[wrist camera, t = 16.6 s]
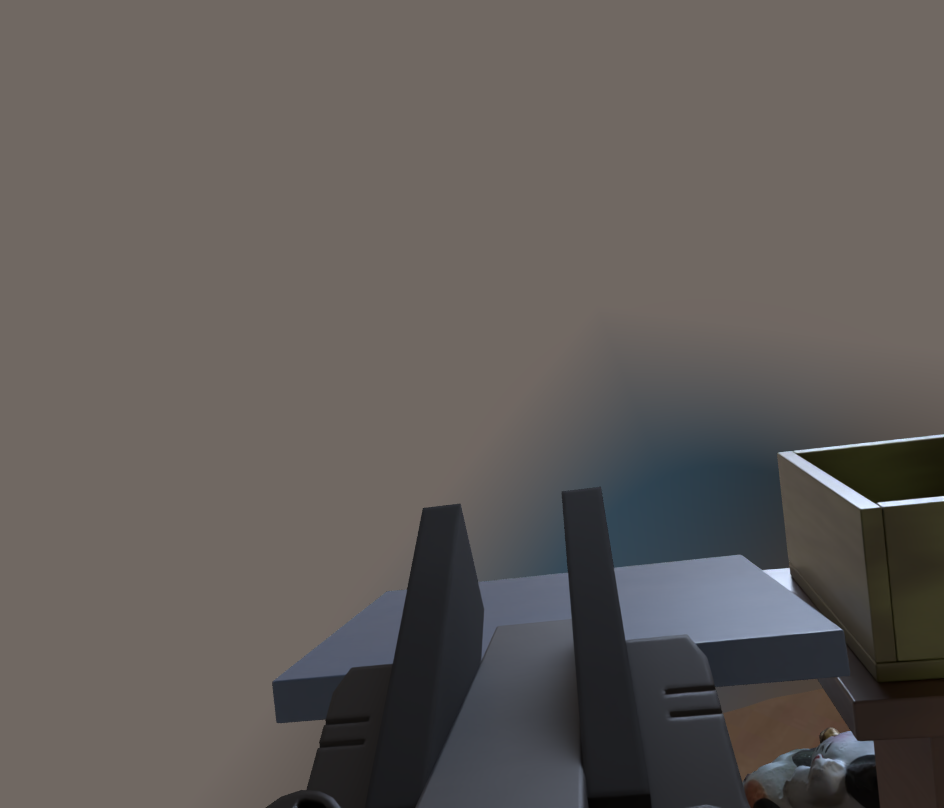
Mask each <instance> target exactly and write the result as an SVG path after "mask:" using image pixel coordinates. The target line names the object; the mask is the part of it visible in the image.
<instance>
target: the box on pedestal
mask: <svg viewBox="0 0 944 808" xmlns="http://www.w3.org/2000/svg"><path fill="white" fill-rule="evenodd" d="M777 457H778V466H779V475H780V485H781V493H782V503H783V512H784V521H785V531H786V539H787V549H788V558H789V561H790V562H789V567H790V568H785V569H774V570H763V571H764V572H765V573H766V574H768V575H769V576H770V577H772V578H773V579H775V580H776V581H777V582H779V583H780V584H781V585H783V586H784V587H785V588H787V589H788V590H789V591H791V592H792V593H794V594H795V595H796V596H798V597H799V598H800V599H802V600H803V601H804V602H806V603H807V604H808V605H810V606H811V607H813V608H814V609H815V610H817V611H818V612H819V613H821V614H822V615H823V616H825V617H826V618H827V619H829V620H830V621H832V622H833V623H834V624H836V625H837V626H838V627H840V628H841V629H842V630H843V631H844V635H845V641H846V648H847V655H848V661H849V668H850V676H844V677H831V678H819V679H818V681H819V682H820V684H821V685H822V687H823V689H824V690H825V692H826V693H827V695H828V696H829V698H830V699H831V701H832V703H833V704H834V706H835V707H836V709H837V710H838V712H839V713H840V715H841V716H842V718H843V720H844V721H845V723H846V724H847V726H848V727H849V729H850V730H851V732H852V733H853V735H854V737H855V738H856V740H857V741H873V742H874V752H875V761H876V771H877V781H878V791H879V801H880V808H944V434H943V435H934V436H925V437H916V438H908V439H898V440H889V441H879V442H871V443H861V444H853V445H844V446H835V447H825V448H817V449H807V450H798V451H793V452H792V451H788V452H779V453H778V454H777Z"/></svg>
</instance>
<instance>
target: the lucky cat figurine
mask: <svg viewBox="0 0 944 808" xmlns="http://www.w3.org/2000/svg"><path fill="white" fill-rule="evenodd" d="M742 783H743V787H744V791H745V794H746V798H747V800H748V803H749V805H750V808H880V801H879V791H878V781H877V771H876V761H875V752H874V742H873V741H857V740H856V738H855V737H854V735H853V733H852V732H851V731H848V732H845V733H839V732H838V731H837V730H836V729H835V728H827V729H826V730H824V731H822V732H821V733H820V745H819V746H818V747H817V748H812V749H796V750H793V751H790V752H789V753H786V754H783V755H780V756H779V757H778V758H776V759H775V760H774V761H773V762H772V763H770V764H767V765H764V766H762V767H760V768H759V769H758V770H757V771H754V772H753V773H752V774H747V776H746V777H745V779H744V781H743V782H742Z"/></svg>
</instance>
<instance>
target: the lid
mask: <svg viewBox="0 0 944 808" xmlns="http://www.w3.org/2000/svg"><path fill="white" fill-rule="evenodd" d="M614 572H615V578H616V584H617V590H618V596H619V603H620V609H621V615H622V621H623V628H624V634H625V640H630V639H641V638H652V637H662V636H673V635H684V634H687V635H688V636H689V637H690V638H691V639H692V640H693V642H694V643H695V644H696V645H697V646H698V647H699V648H700V650H701V651H702V652H703V653H704V654H705V655H706V657H707V659H708V662H709V666H710V669H711V673H712V677H713V680H714V684H715V687H723V686H735V685H747V684H758V683H771V682H782V681H795V680H807V679H819V678H831V677H844V676H850V668H849V661H848V655H847V648H846V641H845V635H844V631H843V630H842V629H841V628H840V627H838V626H837V625H836V624H834V623H833V622H832V621H830V620H829V619H827V618H826V617H825V616H823V615H822V614H821V613H819V612H818V611H817V610H815V609H814V608H813V607H811V606H810V605H808V604H807V603H806V602H804V601H803V600H802V599H800V598H799V597H798V596H796V595H795V594H794V593H792V592H791V591H789V590H788V589H787V588H785V587H784V586H783V585H781V584H780V583H779V582H777V581H776V580H775V579H773V578H772V577H770V576H769V575H768V574H766V573H765V572H764V571H762V570H761V569H760V568H758V567H757V566H756V565H754V564H753V563H751V562H750V561H749V560H747V559H746V558H745V557H743V556H742V555H734V556H724V557H714V558H706V559H695V560H686V561H676V562H666V563H657V564H647V565H638V566H628V567H618V568H614ZM478 584H479V588H480V592H481V597H482V601H483V606H484V623H483V639H482V656H481V663H480V665H479V667H478V670H477V672H476V674H475V676H474V678H473V681H472V683H471V685H470V687H469V690H468V692H467V694H466V696H465V698H464V701H463V703H462V705H461V707H460V709H459V712H458V714H457V716H456V718H455V721H454V723H453V725H452V727H451V729H450V732H449V734H448V736H447V738H446V741H445V743H444V745H443V747H442V749H441V752H440V754H439V756H438V758H437V761H436V763H435V765H434V767H433V769H432V772H431V774H430V776H429V778H428V781H427V783H426V785H425V787H424V789H423V792H422V794H421V796H420V798H419V801H418V803H417V805H416V807H415V808H589V805H588V799H587V788H586V777H585V774H584V768H583V756H582V743H581V730H580V718H579V705H578V693H577V680H576V667H575V655H574V642H573V630H572V617H571V604H570V592H569V579H568V573H561V574H551V575H542V576H532V577H522V578H513V579H503V580H494V581H484V582H478ZM406 593H407V590H397V591H388V592H385V593H384V594H383V595H382V596H380V597H379V598H378V599H377V600H375V601H374V602H373V603H372V604H370V605H369V606H368V607H367V608H365V609H364V610H363V611H362V612H360V613H359V614H358V615H356V616H355V617H354V618H353V619H351V620H350V621H349V622H347V623H346V624H345V625H344V626H342V627H341V628H340V629H339V630H337V631H336V632H335V633H333V634H332V635H331V636H330V637H329V638H327V639H326V640H325V641H324V642H322V643H321V644H320V645H318V646H317V647H316V648H314V649H313V650H312V651H311V652H309V653H308V654H307V655H306V656H304V657H303V658H302V659H301V660H300V661H298V662H297V663H296V664H294V665H293V666H292V667H290V668H289V669H288V670H287V671H286V672H284V673H283V674H282V675H280V676H279V677H278V678H276V679H275V680H274V681H273V682H272V686H273V694H274V704H275V712H276V721H277V723H288V722H300V721H312V720H324V719H326V716H327V713H328V709H329V705H330V702H331V698H332V694H333V692H334V690H335V689H336V688H337V686H338V685H339V684H340V682H341V681H342V680H343V678H344V677H345V675H346V674H347V673H348V671H349V670H350V669H351V668H352V667H362V666H373V665H384V664H393V660H394V655H395V649H396V644H397V639H398V634H399V629H400V624H401V619H402V613H403V608H404V603H405V598H406Z"/></svg>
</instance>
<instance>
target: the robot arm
mask: <svg viewBox="0 0 944 808" xmlns="http://www.w3.org/2000/svg"><path fill="white" fill-rule="evenodd" d="M562 503H563V515H564V529H565V541H566V554H567V566H568V579H569V592H570V604H571V617H572V630H573V642H574V655H575V667H576V680H577V693H578V705H579V718H580V730H581V743H582V756H583V768H584V774H585V777H586V788H587V799H588V805H589V808H750V805H749V803H748V800H747V798H746V794H745V791H744V787H743V783H742V780H741V776H740V773H739V769H738V766H737V762H736V759H735V755H734V751H733V748H732V744H731V741H730V737H729V734H728V730H727V726H726V723H725V719H724V716H723V714H722V710H721V705H720V701H719V698H718V694H717V691H716V689H715V684H714V680H713V677H712V673H711V669H710V666H709V662H708V659H707V657H706V655H705V654H704V653H703V652H702V651H701V650H700V648H699V647H698V646H697V645H696V644H695V643H694V642H693V640H692V639H691V638H690V637H689V636H688V635H687V634H684V635H673V636H662V637H652V638H641V639H630V640H625V634H624V628H623V621H622V615H621V609H620V603H619V596H618V590H617V584H616V578H615V572H614V565H613V559H612V553H611V547H610V541H609V534H608V528H607V522H606V517H605V510H604V503H603V497H602V491H601V487H596V488H587V489H579V490H570V491H562ZM483 623H484V606H483V601H482V597H481V592H480V588H479V584H478V579H477V575H476V571H475V566H474V562H473V557H472V553H471V548H470V544H469V540H468V535H467V530H466V526H465V522H464V517H463V513H462V508H461V504H453V505H446V506H437V507H429V508H423V510H422V516H421V521H420V526H419V531H418V537H417V542H416V546H415V552H414V557H413V562H412V567H411V572H410V578H409V583H408V588H407V593H406V598H405V603H404V608H403V613H402V619H401V624H400V629H399V634H398V639H397V644H396V649H395V655H394V660H393V664H384V665H373V666H362V667H352V668H351V669H350V670H349V671H348V673H347V674H346V675H345V677H344V678H343V680H342V681H341V682H340V684H339V685H338V686H337V688H336V689H335V690H334V692H333V694H332V698H331V702H330V705H329V709H328V713H327V716H326V725H324V727H323V731H322V735H321V738H320V742H319V743H320V748H318V750H317V753H316V757H315V760H314V764H313V768H312V771H311V775H310V779H309V782H308V786H307V790H300V791H297V792H294V793H291V794H288V795H285V796H282V797H280V798H279V799H277V800H276V801H274V802H273V803H272V804H270V805H269V806H267V807H266V808H415V807H416V805H417V803H418V801H419V798H420V796H421V794H422V792H423V789H424V787H425V785H426V783H427V781H428V778H429V776H430V774H431V772H432V769H433V767H434V765H435V763H436V761H437V758H438V756H439V754H440V752H441V749H442V747H443V745H444V743H445V741H446V738H447V736H448V734H449V732H450V729H451V727H452V725H453V723H454V721H455V718H456V716H457V714H458V712H459V709H460V707H461V705H462V703H463V701H464V698H465V696H466V694H467V692H468V690H469V687H470V685H471V683H472V681H473V678H474V676H475V674H476V672H477V670H478V667H479V665H480V663H481V656H482V639H483Z"/></svg>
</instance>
